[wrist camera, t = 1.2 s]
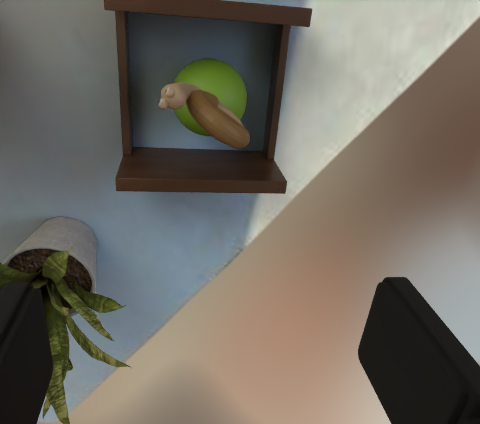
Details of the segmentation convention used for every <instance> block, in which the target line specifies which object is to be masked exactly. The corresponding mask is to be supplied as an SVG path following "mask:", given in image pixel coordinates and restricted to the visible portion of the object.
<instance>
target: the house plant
mask: <svg viewBox="0 0 480 424" xmlns="http://www.w3.org/2000/svg"><path fill="white" fill-rule="evenodd" d="M96 259H97V242H96V237H95V234H94V232H93V231H92V230H91V228H90V227H89V226H88V225H86V224H85V223H84V222H82V221H79V220H76V219H72V218H68V217H55V218H51V219H49V220H47V221H45V222H44V223H43V224H42V225H41V226H40V227H38V228H37V229H36V230H35V231H34V232H33V233H32V234H31V235H30V236H29V237H28V238H27V239H26V240H25V241H24V242H23V243H21V244H20V245H19V246H18V247H17V248H16V249H15V250H14V251H13V252H12V253H11V254H10V255H9V256H8V257H7V258H6V259H4V260H3V262H2V264H1V263H0V291H1V289H2V288H3V286H4V285H5V284H6V283H26V282H30V283H32V284H33V287H34V288H40V290H41V294H42V300H43V306H44V311H45V317H46V323H47V329H48V335H49V341H50V346H51V352H52V358H53V374H52V378H51V381H50V384H49V387H48V390H47V393H46V397H47V398H46V401H45V403H44V409H43V420H44V416H45V414H46V412H47V411H48V409H49V407H50V405H52V406H53V408H54V410H55V412H56V415H57V417H58V418H59V420H60V421H61V422H62V423H63V424H70V422H69V418H68V410H67V405H66V400H65V392H64V385H63V381H64V379H65V376H66V373H67V371H69V370H72V368H73V366H72V363H71V361H70V359H69V336H68V331H67V327H66V324H67V326H68V328H69V330H70V332H71V334H72V335H73V337H74V338H75V340H76V341H77V343H78V344H79V345H80V346H81V347H82V348H83V350H85V351H86V352H87V353H88V354H89V355H90V356H91V357H93V358H95V359H97V360H100V361H103V362H105V363H107V364H109V365H112V366H115V367H124V366H128V365H126V364H125V363H122V362H120V361H118V360H116V359H114V358H113V357H111V356H109V355H108V354H106V353H105V352H103V351H101V350H100V349H99V348H98V347H97V346H95V345H94V344H93V343H92V342H91V341H90V340H89V339H88V338H87V337H86V336H85V335H84V334H83V333H82V332H81V330H80V329H79V328H78V327H77V325H76V324H75V322H74V321H73V319H72V318H71V316H73V315H76V314H78V313H79V314H80V315H81V316H82V317H83V318H84V319H85V320H86V321H87V322H88V323H89V324H90V325H91V326H92V327H93V328H94V329H95V330H97V331H98V332H99V333H100V334H101V335H103V336H105V337H106V338H108V339H110V340H112V338H111V336H110V334H109V333H108V332H107V331H106V330H105V329H104V328H103V327H102V325H101V322H100V321H99V319H98V317H97V316H96V314H95V313H94V312H93V311H92V310H91V309H93V310H94V311H97V312H100V313H107V312H111V311H114V310H117V309H120V308H122V307H124V306H121V305H120V304H118V303H117V302H116V301H114V300H112V299H110V298H108V297H105V296H102V295H98V294H95V291H96ZM90 308H91V309H90ZM112 341H113V340H112ZM128 367H130V366H128Z"/></svg>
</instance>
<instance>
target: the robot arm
mask: <svg viewBox="0 0 480 424" xmlns="http://www.w3.org/2000/svg"><path fill="white" fill-rule="evenodd" d="M358 356H359V360H360V363H361V364H362V367H363V368H364V370H365V372H366V374H367V376H368V378H369V380H370V382H371V384H372V386H373V388H374V390H375V392H376V394H377V396H378V398H379V400H380V402H381V404H382V406H383V408H384V410H385V412H386V414H387V416H388V418H389V420H390V422H391V424H480V366H479V365H478V363H477V362H476V361H475V360H474V359H473V357H472V356H471V355H470V354H469V353H468V351H467V350H466V349H465V348H464V346H463V345H462V344H461V343H460V342H459V341H458V339H457V338H456V337H455V336H454V334H453V333H452V332H451V331H450V329H449V328H448V327H447V326H446V325H445V323H444V322H443V321H442V320H441V319H440V317H439V316H438V315H437V314H436V313H435V311H434V310H433V309H432V308H431V306H430V305H429V304H428V303H427V302H426V300H425V299H424V298H423V297H422V296H421V294H420V293H419V292H418V291H417V290H416V288H415V287H414V286H413V285H412V283H411V282H410V281H409V280H408V279H407V278H405V277H387V278H385V279H384V280H383V281H382V282H380V283H379V284H378V285H377V288H376V291H375V295H374V298H373V301H372V305H371V308H370V311H369V315H368V318H367V322H366V325H365V328H364V332H363V335H362V338H361V341H360V345H359V349H358ZM52 374H53V358H52V352H51V346H50V341H49V335H48V329H47V323H46V317H45V311H44V306H43V300H42V294H41V290H40V288H34V287H33V284H32V283H30V282H26V283H6V284H5V285H4V286H3V288H2V289H1V291H0V424H36V423H37V420H38V417H39V414H40V411H41V408H42V405H43V402H44V399H45V396H46V393H47V390H48V387H49V384H50V381H51V378H52Z"/></svg>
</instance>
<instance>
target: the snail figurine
mask: <svg viewBox="0 0 480 424" xmlns="http://www.w3.org/2000/svg"><path fill="white" fill-rule="evenodd" d="M246 103H247V93H246V88H245V84H244V82H243V80H242V78H241V76H240V75H239V73H238V72H237V71H236V70H235V69H234V68H233V67H232V66H231V65H229V64H228V63H226V62H224V61H221V60H218V59H213V58H204V59H199V60H196V61H193V62H191V63H190V64H188V65H187V66H186V67H184V68H183V69H182V70H181V72H180V73H179V74H178V76H177V77H176V79H175V82H174V84H168V85H166V86H165V87H164V88H163V89H162V91H161V99H160V100H159V101H158V107H159V108H160V109H166V108H167V107H169V108H172V109H174V111H175V113H176V115H177V117H178V119H179V120H180V121H181V123H182V124H183V125H184V126H185V127H186V128H188V129H189V130H191V131H192V132H194V133H197V134H200V135H204V136H212V137H214V138H215V139H217V140H219V141H220V142H222V143H224V144H227V145H229V146H231V147H233V148H244V147H246V146H247V145H248V143H249V141H250V135H249V133H248V131H247V130H246V129H245V128H244V126H243V124H242V123H241V122H240V119H241V118H242V116H243V114H244V111H245V108H246Z"/></svg>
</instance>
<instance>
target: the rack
mask: <svg viewBox="0 0 480 424" xmlns="http://www.w3.org/2000/svg"><path fill="white" fill-rule="evenodd" d="M104 8H105V10H113V11H115V14H116V33H117V52H118V70H119V89H120V107H121V126H122V144H123V157H122V160H121V163H120V166H119V169H118V172H117V175H116V191H149V192H215V193H281V194H285V192H286V185H287V181H286V179H285V177H284V176H283V174H282V172H281V171H280V169H279V167H278V166H277V164H276V162H275V161H274V155H275V147H276V139H277V131H278V123H279V115H280V107H281V99H282V91H283V83H284V76H285V68H286V60H287V52H288V44H289V36H290V28H291V25H292V26H304V27H310V21H311V14H312V9H310V8H299V7H288V6H278V5H267V4H256V3H245V2H234V1H223V0H104ZM128 12H137V13H149V14H161V15H173V16H184V17H196V18H208V19H220V20H232V21H244V22H256V23H268V24H277V27H276V36H275V45H274V54H273V63H272V72H271V81H270V89H269V98H268V107H267V116H266V125H265V134H264V143H263V151H237V150H206V149H175V148H144V147H133V130H132V105H131V81H130V57H129V33H128Z"/></svg>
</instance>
